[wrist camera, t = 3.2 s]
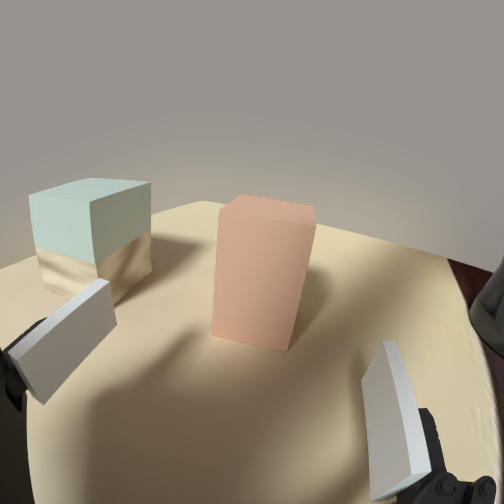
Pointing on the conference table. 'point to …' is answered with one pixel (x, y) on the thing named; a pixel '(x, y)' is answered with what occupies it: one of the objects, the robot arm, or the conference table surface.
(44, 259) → the tower base block
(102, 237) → the tower upper block
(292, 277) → the tall block
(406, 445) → the robot arm
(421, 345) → the conference table surface
